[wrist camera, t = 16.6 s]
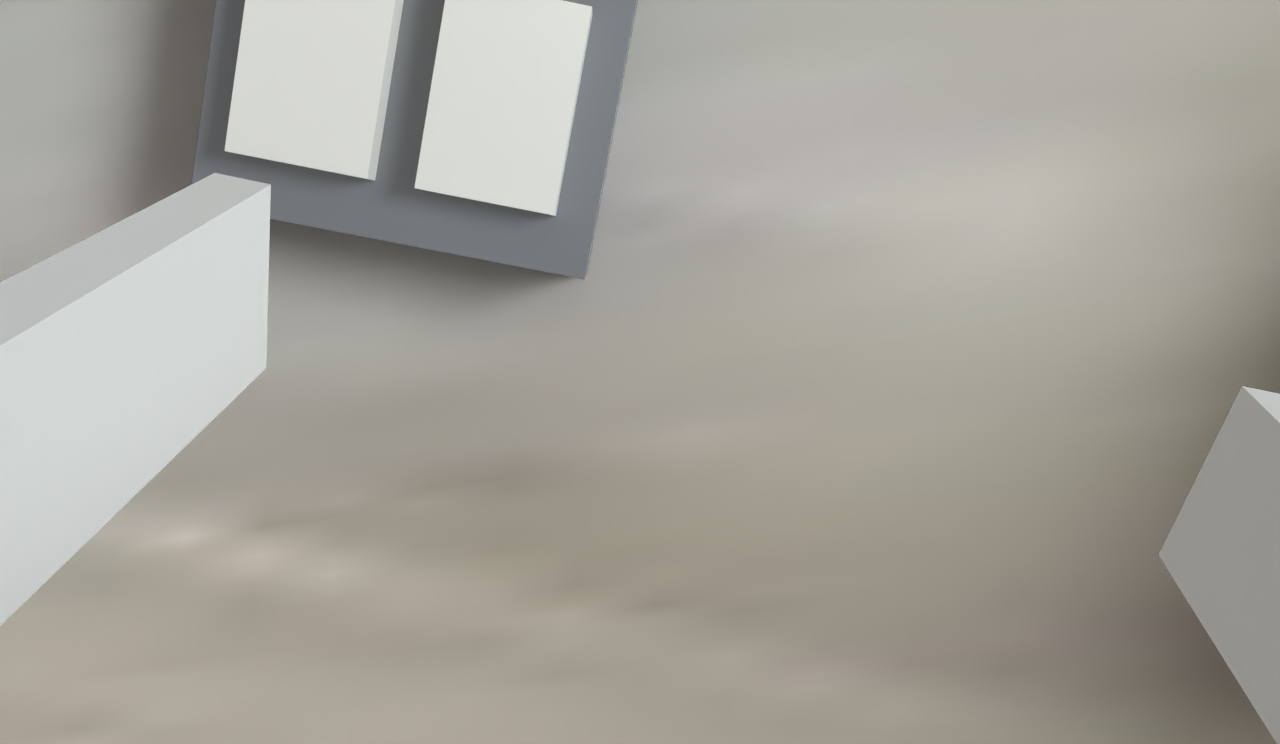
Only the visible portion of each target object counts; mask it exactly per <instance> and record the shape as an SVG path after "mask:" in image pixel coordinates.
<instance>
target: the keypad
mask: <svg viewBox="0 0 1280 744" xmlns="http://www.w3.org/2000/svg"><path fill="white" fill-rule="evenodd" d="M637 2H638V0H216V6H215V13H214V20H213V28H212V35H211V43H210V50H209V57H208V65H207V72H206V80H205V87H204V95H203V102H202V109H201V117H200V124H199V132H198V139H197V146H196V154H195V161H194V169H193V176H192V183H191V185H192V184H194V183H196V182H198V181H200V180H202V179H204V178H206V177H208V176H209V175H211V174H213V173H218V174H223V175H228V176H233V177H238V178H242V179H247V180H252V181H257V182H262V183H267V184H271V201H270V219H273V220H278V221H284V222H289V223H294V224H299V225H304V226H310V227H315V228H320V229H325V230H330V231H336V232H341V233H346V234H351V235H356V236H361V237H367V238H372V239H377V240H382V241H387V242H393V243H398V244H403V245H408V246H413V247H419V248H424V249H429V250H434V251H439V252H445V253H450V254H455V255H460V256H465V257H471V258H476V259H481V260H486V261H491V262H497V263H502V264H507V265H512V266H517V267H523V268H528V269H533V270H538V271H543V272H549V273H554V274H559V275H564V276H569V277H575V278H580V279H585V277H586V275H587V270H588V265H589V260H590V254H591V249H592V244H593V238H594V233H595V227H596V222H597V217H598V211H599V206H600V201H601V195H602V190H603V184H604V179H605V174H606V168H607V163H608V158H609V152H610V147H611V142H612V136H613V131H614V125H615V120H616V115H617V109H618V104H619V99H620V93H621V88H622V82H623V77H624V72H625V66H626V61H627V56H628V50H629V45H630V39H631V34H632V29H633V23H634V18H635V13H636V7H637Z"/></svg>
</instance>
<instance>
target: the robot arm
mask: <svg viewBox="0 0 1280 744" xmlns="http://www.w3.org/2000/svg"><path fill="white" fill-rule="evenodd" d="M270 201H271V184H267V183H262V182H257V181H252V180H247V179H242V178H238V177H233V176H228V175H223V174H218V173H213V174H211V175H209V176H208V177H206V178H204V179H202V180H200V181H198V182H196V183H194V184H192V185H190V186H188V187H186V188H184V189H182V190H180V191H178V192H176V193H174V194H172V195H170V196H168V197H166V198H164V199H162V200H161V201H159V202H157V203H155V204H153V205H151V206H149V207H147V208H145V209H143V210H141V211H139V212H137V213H135V214H133V215H131V216H129V217H127V218H125V219H123V220H121V221H119V222H117V223H115V224H114V225H112V226H110V227H108V228H106V229H104V230H102V231H100V232H98V233H96V234H94V235H92V236H90V237H88V238H86V239H84V240H82V241H80V242H78V243H76V244H74V245H72V246H70V247H69V248H67V249H65V250H63V251H61V252H59V253H57V254H55V255H53V256H51V257H49V258H47V259H45V260H43V261H41V262H39V263H37V264H35V265H33V266H31V267H29V268H27V269H25V270H23V271H22V272H20V273H18V274H16V275H14V276H12V277H10V278H8V279H6V280H4V281H2V282H0V626H1V625H2V624H3V623H4V622H5V621H6V620H7V619H8V618H9V617H10V616H11V615H12V614H13V613H14V612H15V611H16V610H17V609H18V608H19V607H21V606H22V605H23V604H24V603H25V602H26V601H27V600H28V599H29V598H30V597H31V596H32V595H33V594H34V593H35V592H36V591H37V590H38V589H39V588H40V587H41V586H42V585H43V584H44V583H45V582H46V581H47V580H48V579H49V578H50V577H51V576H52V575H53V574H55V573H56V572H57V571H58V570H59V569H60V568H61V567H62V566H63V565H64V564H65V563H66V562H67V561H68V560H69V559H70V558H71V557H72V556H73V555H74V554H75V553H76V552H77V551H78V550H79V549H80V548H81V547H82V546H83V545H84V544H85V543H86V542H88V541H89V540H90V539H91V538H92V537H93V536H94V535H95V534H96V533H97V532H98V531H99V530H100V529H101V528H102V527H103V526H104V525H105V524H106V523H107V522H108V521H109V520H110V519H111V518H112V517H113V516H114V515H115V514H116V513H117V512H118V511H119V510H120V509H122V508H123V507H124V506H125V505H126V504H127V503H128V502H129V501H130V500H131V499H132V498H133V497H134V496H135V495H136V494H137V493H138V492H139V491H140V490H141V489H142V488H143V487H144V486H145V485H146V484H147V483H148V482H149V481H150V480H151V479H152V478H153V477H154V476H156V475H157V474H158V473H159V472H160V471H161V470H162V469H163V468H164V467H165V466H166V465H167V464H168V463H169V462H170V461H171V460H172V459H173V458H174V457H175V456H176V455H177V454H178V453H179V452H180V451H181V450H182V449H183V448H184V447H185V446H186V445H187V444H189V443H190V442H191V441H192V440H193V439H194V438H195V437H196V436H197V435H198V434H199V433H200V432H201V431H202V430H203V429H204V428H205V427H206V426H207V425H208V424H209V423H210V422H211V421H212V420H213V419H214V418H215V417H216V416H217V415H218V414H219V413H220V412H221V411H223V410H224V409H225V408H226V407H227V406H228V405H229V404H230V403H231V402H232V401H233V400H234V399H235V398H236V397H237V396H238V395H239V394H240V393H241V392H242V391H243V390H244V389H245V388H246V387H247V386H248V385H249V384H250V383H251V382H252V381H253V380H254V379H256V378H257V377H258V376H259V375H260V374H261V373H262V372H263V371H264V370H265V369H266V359H267V320H268V280H269V240H270ZM1159 557H1160V558H1161V560H1162V561H1163V563H1164V565H1165V566H1166V568H1167V569H1168V571H1169V572H1170V574H1171V576H1172V577H1173V579H1174V580H1175V582H1176V584H1177V585H1178V587H1179V588H1180V590H1181V592H1182V593H1183V595H1184V596H1185V598H1186V600H1187V601H1188V603H1189V604H1190V606H1191V608H1192V609H1193V611H1194V612H1195V614H1196V616H1197V617H1198V619H1199V620H1200V622H1201V624H1202V625H1203V627H1204V628H1205V630H1206V632H1207V633H1208V635H1209V636H1210V638H1211V640H1212V641H1213V643H1214V644H1215V646H1216V648H1217V649H1218V651H1219V652H1220V654H1221V656H1222V657H1223V659H1224V660H1225V662H1226V664H1227V665H1228V667H1229V668H1230V670H1231V672H1232V673H1233V675H1234V676H1235V678H1236V679H1237V681H1238V683H1239V684H1240V686H1241V687H1242V689H1243V691H1244V692H1245V694H1246V695H1247V697H1248V699H1249V700H1250V702H1251V703H1252V705H1253V707H1254V708H1255V710H1256V711H1257V713H1258V715H1259V716H1260V718H1261V719H1262V721H1263V723H1264V724H1265V726H1266V727H1267V729H1268V731H1269V732H1270V734H1271V735H1272V737H1273V739H1274V740H1275V742H1276V743H1277V744H1280V394H1278V393H1273V392H1269V391H1264V390H1259V389H1254V388H1249V387H1245V386H1242V387H1241V389H1240V391H1239V393H1238V395H1237V397H1236V399H1235V401H1234V403H1233V405H1232V407H1231V409H1230V411H1229V413H1228V415H1227V417H1226V419H1225V421H1224V423H1223V425H1222V427H1221V429H1220V431H1219V433H1218V435H1217V437H1216V440H1215V442H1214V444H1213V446H1212V448H1211V450H1210V452H1209V454H1208V456H1207V458H1206V460H1205V462H1204V464H1203V466H1202V468H1201V470H1200V472H1199V474H1198V476H1197V478H1196V480H1195V482H1194V484H1193V486H1192V488H1191V490H1190V492H1189V494H1188V496H1187V498H1186V500H1185V502H1184V504H1183V506H1182V508H1181V510H1180V512H1179V514H1178V516H1177V518H1176V520H1175V522H1174V524H1173V526H1172V528H1171V530H1170V533H1169V535H1168V537H1167V539H1166V541H1165V543H1164V545H1163V547H1162V549H1161V551H1160V553H1159Z"/></svg>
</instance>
